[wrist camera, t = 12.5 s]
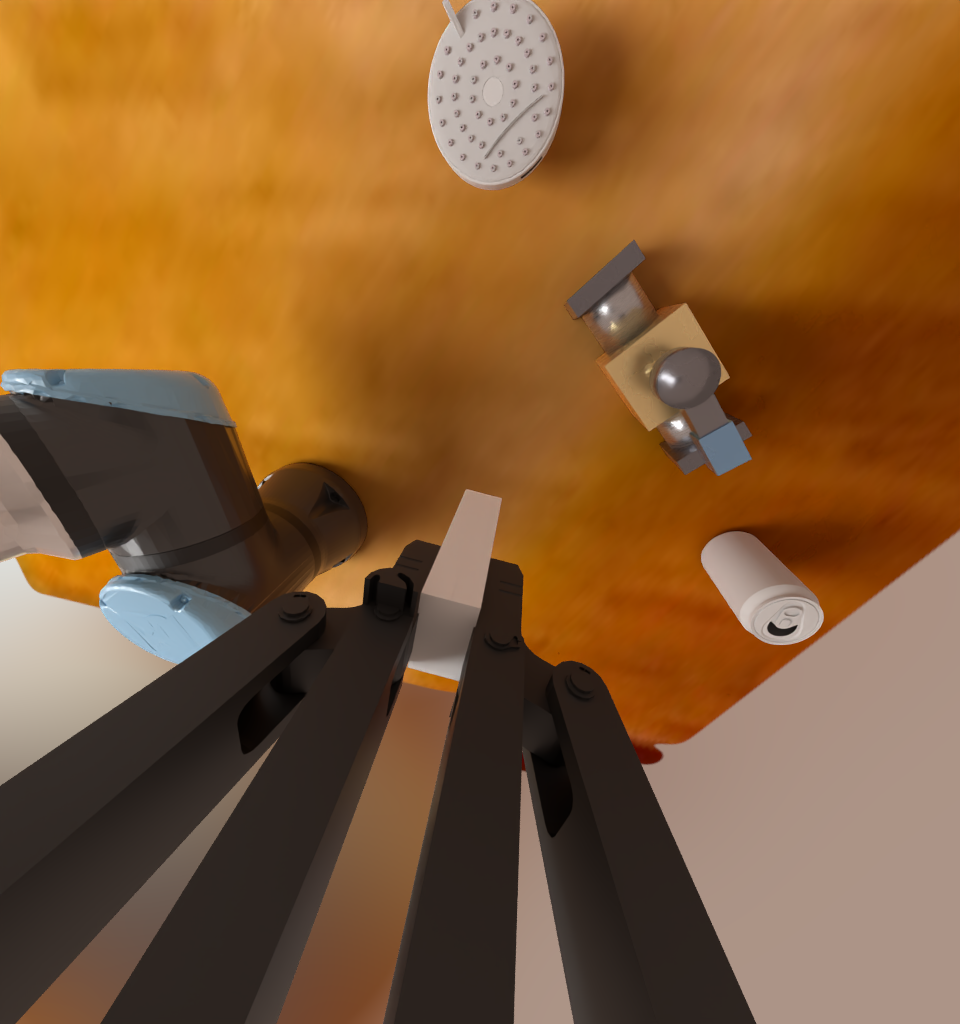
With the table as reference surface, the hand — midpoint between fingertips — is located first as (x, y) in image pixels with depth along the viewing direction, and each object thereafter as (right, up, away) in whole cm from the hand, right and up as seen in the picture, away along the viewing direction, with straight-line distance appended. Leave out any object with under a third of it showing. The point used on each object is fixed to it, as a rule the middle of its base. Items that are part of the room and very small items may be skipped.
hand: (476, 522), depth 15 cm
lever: (+17, +8, +13) cm, 23 cm away
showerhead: (+2, +32, +15) cm, 36 cm away
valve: (+17, +15, +21) cm, 31 cm away
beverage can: (+30, -4, +28) cm, 41 cm away
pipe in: (+12, +20, +19) cm, 30 cm away
